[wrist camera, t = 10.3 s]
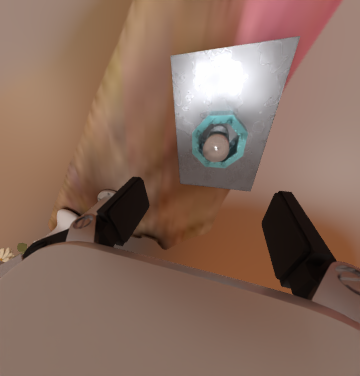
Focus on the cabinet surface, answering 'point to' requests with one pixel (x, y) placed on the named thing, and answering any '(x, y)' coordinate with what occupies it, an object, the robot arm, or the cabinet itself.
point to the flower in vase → (64, 223)
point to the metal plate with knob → (228, 106)
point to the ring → (234, 150)
